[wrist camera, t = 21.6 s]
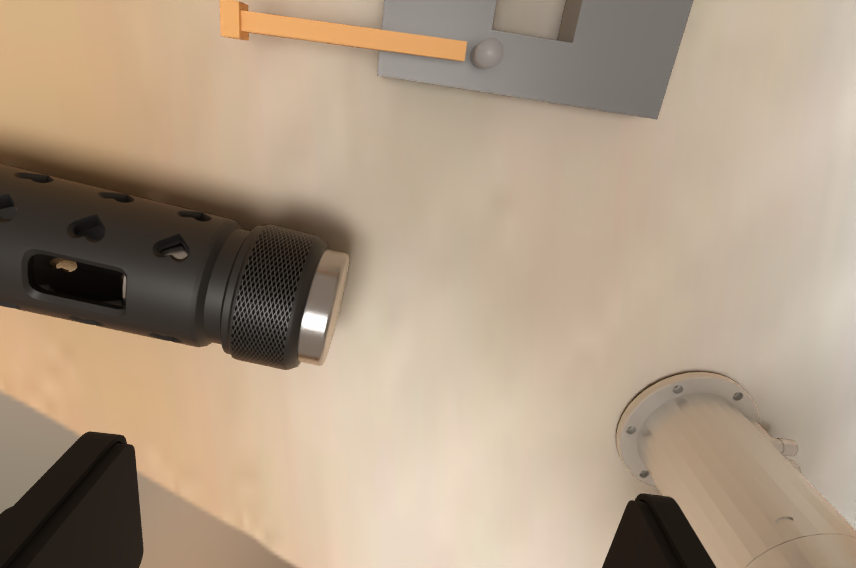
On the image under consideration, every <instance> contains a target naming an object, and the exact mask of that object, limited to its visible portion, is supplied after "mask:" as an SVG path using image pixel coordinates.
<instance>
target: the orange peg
mask: <svg viewBox="0 0 856 568" xmlns="http://www.w3.org/2000/svg"><path fill="white" fill-rule="evenodd" d="M220 23H221V36H224V37H228V38H234V39H241V40H249V33H255V34H263V35H270V36H278V37H285V38H292V39H300V40H307V41H315V42H322V43H329V44H337V45H344V46H352V47H359V48H366V49H374V50H381V51H389V52H396V53H403V54H411V55H418V56H426V57H433V58H440V59H448V60H455V61H462V62H463V61H465V54H466V47H467V41H460V40H453V39H445V38H438V37H431V36H424V35H416V34H409V33H402V32H395V31H387V30H380V29H373V28H366V27H358V26H351V25H344V24H336V23H329V22H322V21H315V20H307V19H300V18H293V17H286V16H278V15H271V14H264V13H257V12H249V11H248V5H246V4H244V3H242V2H239V1H234V0H220Z"/></svg>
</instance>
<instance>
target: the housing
mask: <svg viewBox="0 0 856 568" xmlns="http://www.w3.org/2000/svg"><path fill="white" fill-rule="evenodd" d="M496 1H497V0H384V10H383V20H382V30H387V31H395V32H402V33H409V34H416V35H424V36H431V37H438V38H445V39H453V40H460V41H467V47H466V54H465V61H463V62H462V61H455V60H448V59H440V58H433V57H426V56H418V55H411V54H403V53H396V52H389V51H381V50H380V51H379V61H378V71H377V75H378V76H384V77H390V78H397V79H403V80H410V81H416V82H422V83H429V84H435V85H441V86H448V87H454V88H460V89H467V90H473V91H480V92H486V93H492V94H499V95H505V96H511V97H518V98H524V99H530V100H537V101H543V102H549V103H556V104H562V105H569V106H575V107H581V108H588V109H594V110H600V111H607V112H613V113H619V114H626V115H632V116H638V117H645V118H651V119H657V118H658V115H659V112H660V108H661V105H662V102H663V98H664V95H665V92H666V89H667V85H668V82H669V79H670V75H671V72H672V69H673V66H674V62H675V59H676V56H677V53H678V49H679V46H680V43H681V39H682V36H683V33H684V30H685V26H686V23H687V20H688V16H689V13H690V10H691V7H692V3H693V0H566V3H565V7H564V12H563V17H562V21H561V26H560V30H559V35H558V39H557V40H551V39H545V38H539V37H533V36H527V35H521V34H515V33H509V32H503V31H497V30H492V24H493V19H494V13H495V7H496Z"/></svg>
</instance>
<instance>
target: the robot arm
mask: <svg viewBox="0 0 856 568" xmlns="http://www.w3.org/2000/svg"><path fill="white" fill-rule="evenodd" d="M759 421H760V419H759V413H758V408H757V406H756V404H755V402H754V400H753V399H752V397H751V396H750V395H749V394H748V393H747V391H745V390H744V389H743V388H742V387H741V386H740V385H739V384H738V383H736V382H735V381H733V380H731V379H729V378H727V377H725V376H722V375H718V374H715V373H707V372H690V373H684V374H679V375H675V376H672V377H669V378H666V379H664V380H661V381H659V382H657V383H656V384H654V385H652V386H650V387H649V388H647V389H646V390H645V391H643V392H642V393H641V394H639V395H638V396H637V397H636V398H635V399H634V400H633V401H632V402H631V404H630V405H629V406H628V408H627V409H626V411H625V412H624V414H623V415H622V417H621V420H620V422H619V425H618V429H617V435H616V441H617V449H618V452H619V455H620V457H621V459H622V461H623V463H624V464H625V466H626V467H627V469H628V470H629V471H630V472H631V474H632V475H634V476H635V477H636V478H637V479H639V480H641V481H643V482H645V483H647V484H649V485H652V486H655V487H657V488H658V489H659V491H660V493H661V494H662V496H660V495H651V494H639V495H638V496H637V497H636V499H635V501H633V500H631V501H629V502H628V504H627V506H626V509H625V511H624V514H623V516H622V519H621V521H620V524H619V526H618V529H617V531H616V534H615V536H614V539H613V541H612V544H611V546H610V549H609V552H608V554H607V557H606V559H605V562H604V564H603V567H602V568H856V530H855V529H854V528H853V527H852V526H851V525H850V524H849V523H848V522H847V521H846V520H845V519H844V518H843V516H842V515H841V514H840V513H839V512H838V511H837V510H836V509H835V508H834V507H833V506H832V505H831V504H830V503H829V502H828V501H827V500H826V499H825V498H824V497H823V496H822V495H821V494H820V493H819V492H818V491H817V490H816V489H815V488H814V487H813V486H812V485H811V484H810V483H809V482H808V480H807V479H806V478H805V477H804V476H803V475H802V474H801V471H800V467H799V466H798V464H797V463H796V462H794V461H792V460H787V459H786V458H785V457H784V456H783V455H787V456H795V455H796V454H797V451H798V448H797V444H796V443H795V442H794V441H793V440H788V439H779V438H778V439H773V438H772V437H771V436H770V435H769V434H768V433H767V432H766V431H765V430H764V429H763V428H762V427H761V426H760V425H759ZM142 556H143V539H142V528H141V516H140V505H139V493H138V481H137V470H136V459H135V449H134V447H133V445H130V444H127V442H126V438H125V437H124V436H123V435H116V434H107V433H99V432H87V433H85V434H84V435H82V436H81V437H80V438H79V439H78V440H77V441H76V442H75V443H74V444H73V445H72V446H71V447H70V448H69V449H68V450H67V451H66V453H64V454H63V455H62V457H60V459H59V460H58V461H57V462H56V463H55V464H54V465H53V466H52V467H51V468H50V469H49V470H48V471H47V472H46V473H45V474H44V475H43V476H42V477H41V478H40V479H39V480H38V481H37V482H36V483H35V484H34V485H33V486H32V487H31V488H30V489H29V490H28V491H27V492H26V494H25V495H24V496H23V497H22V498H21V499H20V500H19V501H18V502H17V503H16V504H15V505H14V506H12V507H10V508H8V509H6V510H5V511H4V512H2V513H1V514H0V568H139V566H140V564H141V560H142Z"/></svg>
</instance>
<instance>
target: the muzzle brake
mask: <svg viewBox="0 0 856 568" xmlns="http://www.w3.org/2000/svg"><path fill="white" fill-rule="evenodd" d="M65 259H67V260H71V261H75V262H76V263H77V265H78V266H77V269H76V270H74V271H72V272H69V271H68V270H66V269H63V268H60V269H57V268H56V265H57V264H58V263H59V262H60V261H63V260H65ZM348 267H349V255H348V254H346V253H342V252H338V251H334V250H330V249H329V248H328V243H327V242H326V241H325V240H324V239H323V238H322V237H320V236H317V235H313V234H309V233H304V232H300V231H296V230H292V229H288V228H284V227H279V226H275V225H268V224H267V225H266V226H257V227H255V228H254V229H253V230H252V231H248V230H243V229H242V228H241V226H240V224H238V223H237V222H236V221H235V220H233V219H229V218H224V217H220V216H216V215H212V214H208V213H203V212H199V211H195V210H191V209H187V208H183V207H178V206H174V205H170V204H166V203H162V202H157V201H153V200H149V199H145V198H141V197H137V196H132V195H128V194H124V193H120V192H116V191H112V190H107V189H103V188H99V187H95V186H91V185H87V184H82V183H78V182H74V181H70V180H66V179H62V178H57V177H53V176H49V175H45V174H41V173H37V172H32V171H28V170H24V169H20V168H16V167H12V166H7V165H3V164H0V306H4V307H9V308H16V309H19V310H23V311H28V312H33V313H38V314H42V315H47V316H52V317H57V318H61V319H66V320H71V321H76V322H81V323H85V324H91V325H96V326H100V327H104V328H109V329H114V330H119V331H123V332H128V333H133V334H138V335H142V336H147V337H152V338H157V339H161V340H166V341H173V342H176V343H181V344H185V345H190V346H195V347H203V346H207V345H209V344H211V343H212V342H213V343H218V344H222V348H223V350H224V352H226V353H227V354H231V356H232V357H233V358H234V359H237V360H241V361H246V362H250V363H255V364H260V365H265V366H270V367H274V368H279V369H284V370H289V369H292V368H295V367H297V366H299V364H300V362H304V363H309V364H314V365H318V366H321V365H323V363H324V362H325V360H326V357H327V354H328V351H329V348H330V344H331V341H332V337H333V334H334V330H335V326H336V322H337V318H338V314H339V310H340V306H341V302H342V297H343V293H344V288H345V284H346V279H347V273H348Z"/></svg>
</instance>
